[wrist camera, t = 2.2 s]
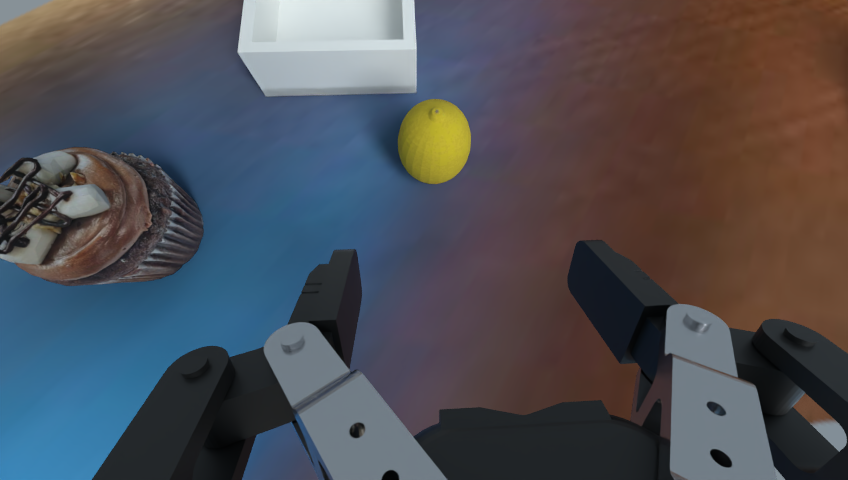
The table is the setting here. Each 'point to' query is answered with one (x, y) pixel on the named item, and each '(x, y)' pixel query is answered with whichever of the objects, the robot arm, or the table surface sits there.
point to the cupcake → (96, 218)
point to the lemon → (434, 141)
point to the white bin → (329, 46)
